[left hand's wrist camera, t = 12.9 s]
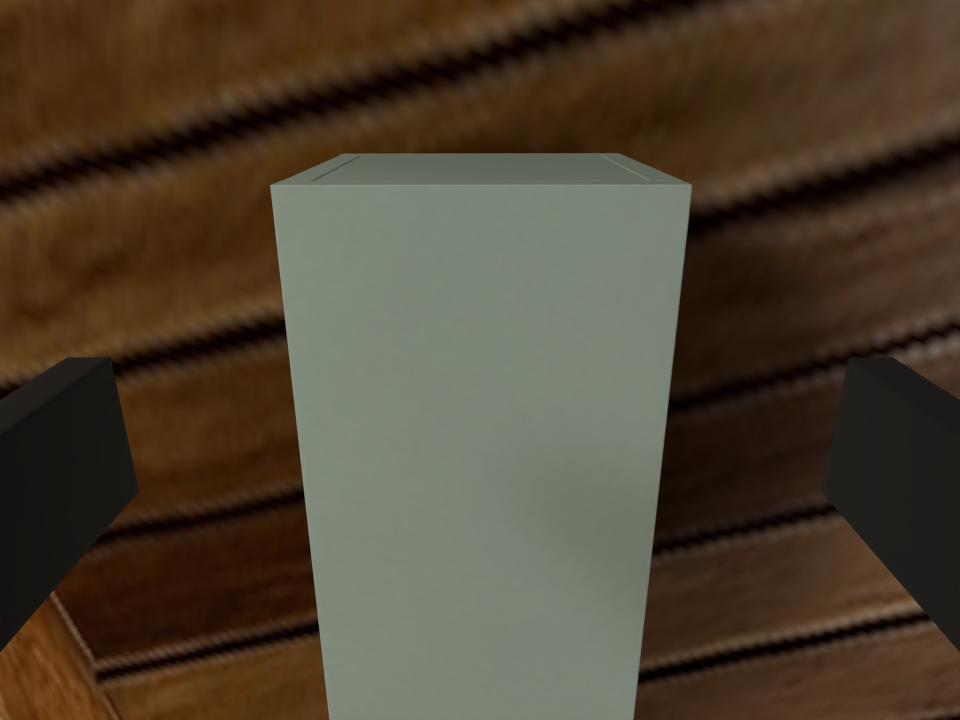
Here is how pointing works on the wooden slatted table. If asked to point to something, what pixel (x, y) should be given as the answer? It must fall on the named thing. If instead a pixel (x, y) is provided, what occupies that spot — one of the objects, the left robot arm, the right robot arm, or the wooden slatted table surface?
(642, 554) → the cabinet
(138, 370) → the wooden slatted table surface
